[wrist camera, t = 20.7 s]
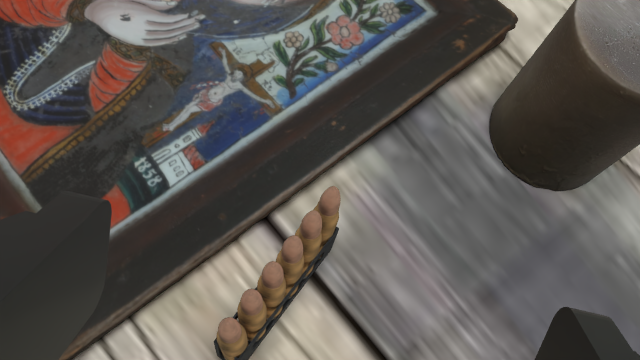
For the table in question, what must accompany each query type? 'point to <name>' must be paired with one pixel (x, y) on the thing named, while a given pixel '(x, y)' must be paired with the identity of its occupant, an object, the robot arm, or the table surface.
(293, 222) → the table surface
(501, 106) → the pillar candle
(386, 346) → the table surface
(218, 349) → the ammunition clip
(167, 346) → the table surface
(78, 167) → the religious icon
